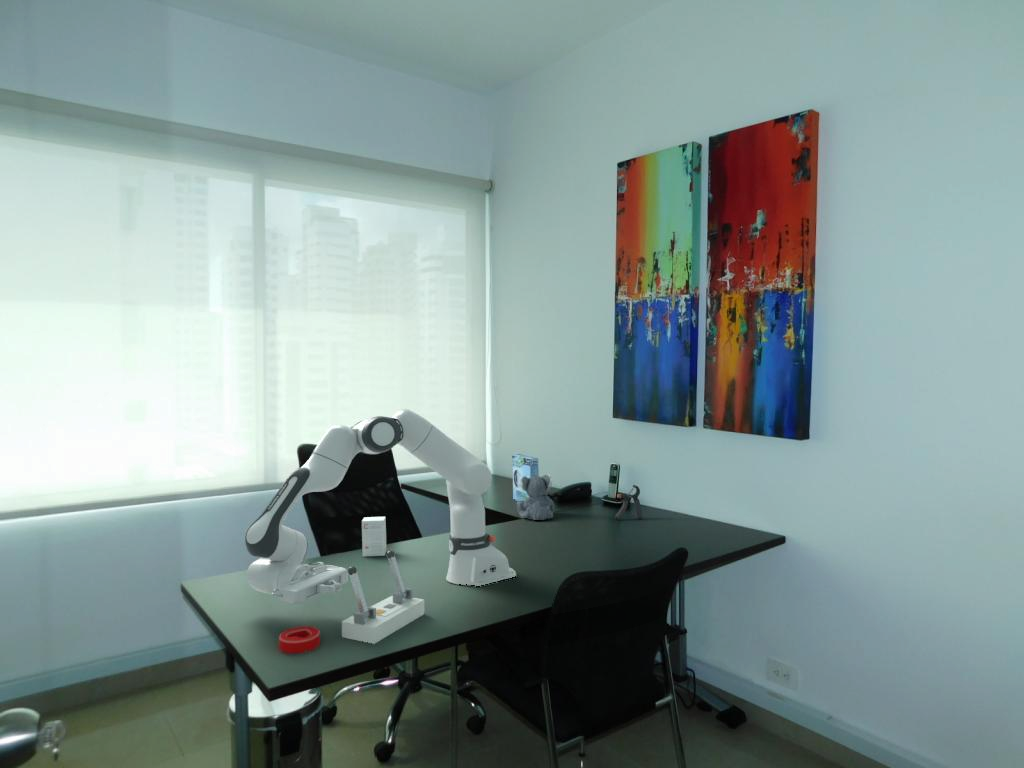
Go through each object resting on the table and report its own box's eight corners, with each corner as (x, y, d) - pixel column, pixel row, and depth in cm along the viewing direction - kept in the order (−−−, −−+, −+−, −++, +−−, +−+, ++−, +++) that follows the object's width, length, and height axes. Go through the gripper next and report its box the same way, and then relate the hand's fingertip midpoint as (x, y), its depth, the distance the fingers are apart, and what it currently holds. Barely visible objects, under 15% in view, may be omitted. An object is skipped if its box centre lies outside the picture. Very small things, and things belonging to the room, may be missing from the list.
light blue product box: (539, 505, 326) (539, 458, 326) (530, 506, 324) (529, 459, 324) (521, 498, 344) (520, 453, 343) (512, 499, 342) (511, 454, 341)
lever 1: (366, 617, 171) (351, 566, 173) (373, 615, 170) (358, 564, 172) (359, 621, 168) (344, 569, 170) (365, 619, 167) (350, 567, 169)
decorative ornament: (320, 636, 170) (320, 624, 170) (319, 652, 161) (319, 639, 161) (281, 640, 168) (280, 628, 168) (277, 656, 159) (276, 643, 159)
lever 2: (403, 597, 185) (389, 550, 187) (410, 595, 184) (395, 548, 186) (397, 601, 183) (383, 553, 184) (403, 599, 182) (389, 551, 183)
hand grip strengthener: (614, 519, 294) (613, 485, 294) (641, 518, 297) (640, 484, 296) (615, 520, 292) (615, 486, 292) (643, 519, 294) (642, 485, 294)
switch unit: (394, 608, 189) (394, 585, 189) (424, 614, 184) (424, 590, 184) (342, 637, 169) (341, 611, 169) (373, 644, 165) (373, 617, 164)
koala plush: (553, 512, 309) (553, 470, 309) (559, 521, 292) (558, 477, 291) (516, 513, 308) (515, 471, 308) (519, 522, 290) (518, 477, 290)
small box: (386, 551, 248) (386, 516, 247) (385, 556, 241) (384, 520, 241) (364, 552, 247) (363, 516, 246) (362, 557, 240) (361, 520, 240)
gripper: (267, 581, 170) (308, 589, 164) (323, 560, 188) (362, 566, 182) (268, 606, 170) (309, 614, 164) (324, 582, 189) (363, 589, 182)
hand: (337, 588), depth 173 cm, fingers closed
